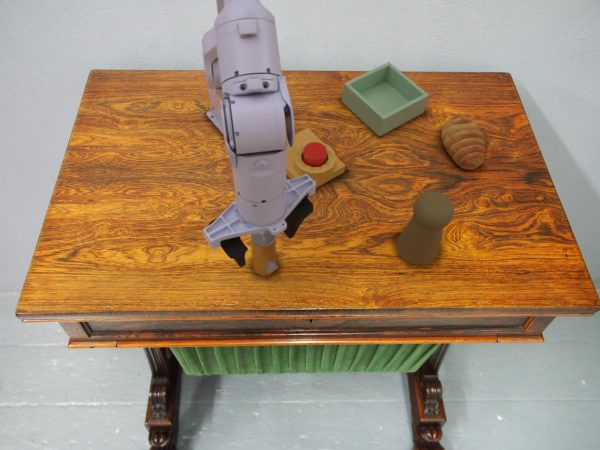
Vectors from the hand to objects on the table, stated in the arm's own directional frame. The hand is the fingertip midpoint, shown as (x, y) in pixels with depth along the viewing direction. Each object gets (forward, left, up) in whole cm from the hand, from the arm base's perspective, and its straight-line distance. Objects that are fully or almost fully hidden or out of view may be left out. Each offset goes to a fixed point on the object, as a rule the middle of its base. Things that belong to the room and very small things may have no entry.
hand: (263, 246), depth 65 cm
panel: (-12, +16, -5) cm, 21 cm away
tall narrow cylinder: (0, 0, -5) cm, 5 cm away
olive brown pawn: (+10, +20, -6) cm, 23 cm away
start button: (-10, +16, -2) cm, 19 cm away
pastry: (0, +40, -6) cm, 40 cm away
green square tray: (-15, +35, -5) cm, 38 cm away
